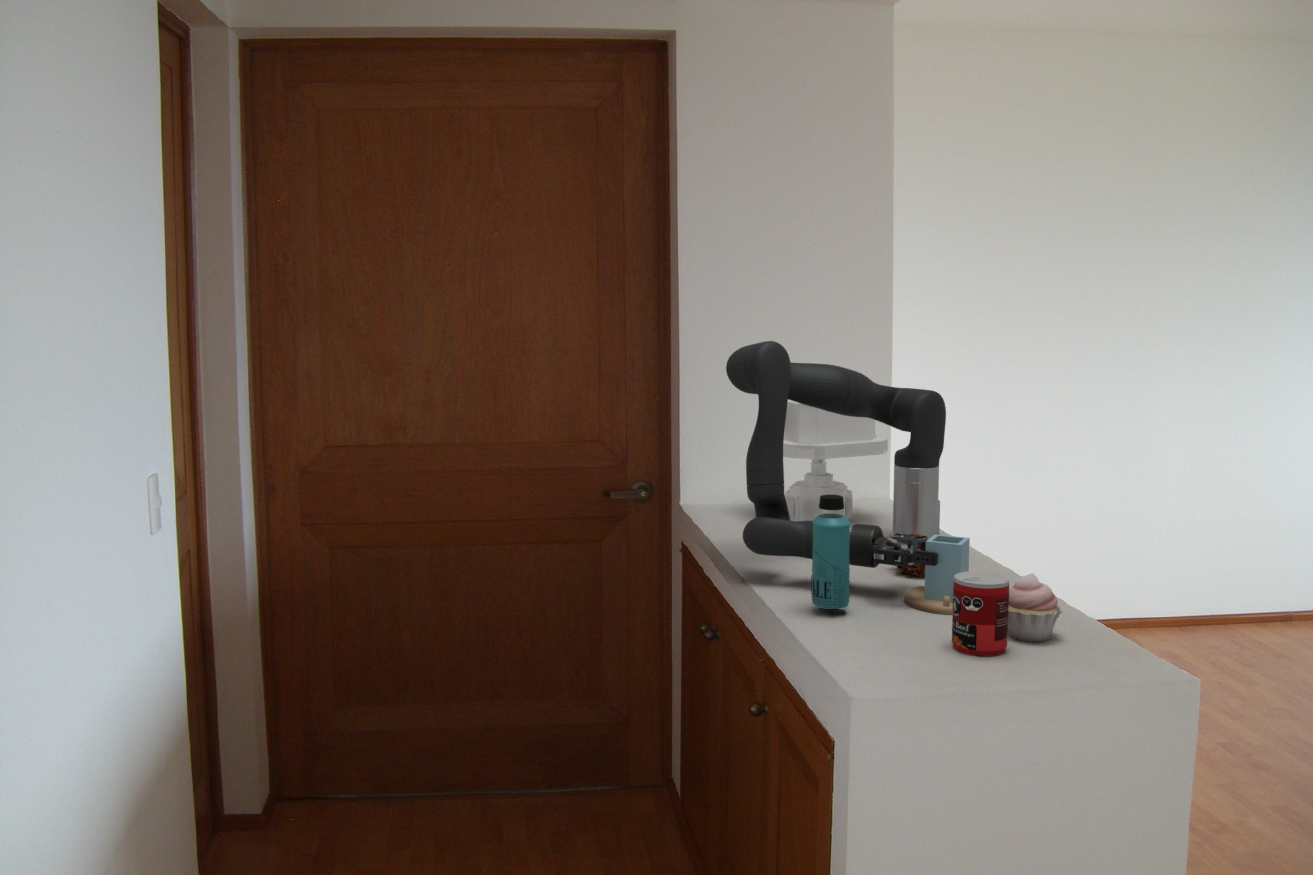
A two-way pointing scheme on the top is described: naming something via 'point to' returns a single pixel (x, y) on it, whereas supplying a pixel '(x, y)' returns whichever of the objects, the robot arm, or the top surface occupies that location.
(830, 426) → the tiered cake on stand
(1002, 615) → the canned food
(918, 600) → the post plate
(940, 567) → the blue pencil cup
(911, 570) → the dragon fruit
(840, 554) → the beverage bottle
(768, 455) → the robot arm
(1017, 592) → the cupcake
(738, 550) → the top surface
